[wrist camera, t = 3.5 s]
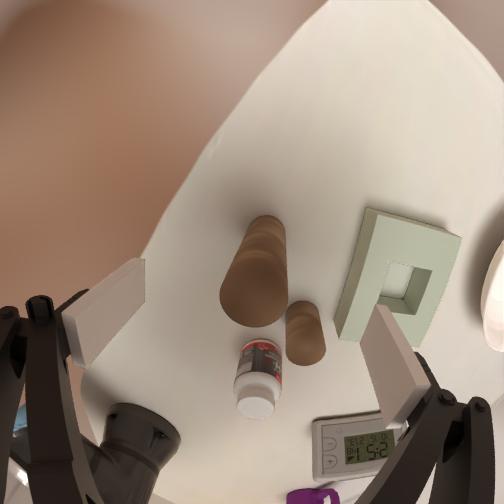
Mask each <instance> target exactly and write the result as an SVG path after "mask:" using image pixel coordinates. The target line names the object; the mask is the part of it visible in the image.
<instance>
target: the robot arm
mask: <svg viewBox="0 0 504 504" xmlns="http://www.w3.org/2000/svg"><path fill="white" fill-rule="evenodd" d="M144 302H145V259H141V258H136V257H133V258H131V259H130V260H129V261H127V262H126V263H125V264H123V265H122V266H120V267H119V268H118V269H116V270H115V271H114V272H112V273H111V274H110V275H108V276H107V277H106V278H105V279H103V280H102V281H100V282H99V283H98V284H97V285H95V286H94V287H93V288H91V289H85V290H82V291H80V292H78V293H76V294H75V295H74V296H72V298H70V299H69V300H67V302H65V303H63V304H62V305H61V306H60V307H58V308H57V309H56V310H54V306H53V301H52V299H51V298H50V297H48V296H45V295H38V296H34V297H32V298H30V299H29V300H27V302H26V304H25V305H26V310H27V314H28V318H29V319H28V318H21V317H20V315H19V311H18V309H17V308H16V307H13V306H5V307H2V308H1V309H0V504H148V502H149V499H150V496H151V494H152V491H153V488H154V486H155V483H156V480H157V477H158V474H159V472H160V470H161V469H162V468H163V467H164V465H165V464H166V463H167V462H168V461H169V460H170V459H171V458H172V457H173V456H174V455H175V453H176V452H177V450H178V448H179V445H180V436H179V434H178V432H177V431H176V430H175V428H174V427H173V426H172V425H171V424H170V423H168V422H167V421H166V420H165V419H163V418H162V417H160V416H158V415H157V414H155V413H153V412H151V411H149V410H147V409H145V408H142V407H139V406H136V405H132V404H125V403H120V404H116V405H114V406H112V407H111V409H110V411H109V412H108V414H107V416H106V421H105V427H104V434H103V440H102V443H101V444H100V446H99V447H98V446H96V445H95V444H94V443H92V442H91V441H90V440H89V439H87V438H86V437H85V436H84V435H82V434H81V433H80V431H79V427H78V423H77V418H76V414H75V409H74V403H73V398H72V393H71V386H70V379H69V372H68V364H67V361H66V358H67V357H68V356H69V355H70V354H71V357H72V361H73V364H76V365H78V366H80V367H82V368H84V369H87V368H88V367H89V366H90V364H91V363H92V362H93V361H94V360H95V358H96V357H97V356H98V355H99V354H100V352H101V351H102V350H103V349H104V348H105V347H106V345H107V344H108V343H109V342H110V341H111V339H112V338H113V337H114V336H115V335H116V334H117V333H118V331H119V330H120V329H121V328H122V327H123V326H124V324H125V323H126V322H127V321H128V320H129V319H130V318H131V317H132V315H133V314H134V313H135V312H136V311H137V310H138V309H139V308H140V306H141V305H142V304H143V303H144ZM360 346H361V349H362V352H363V355H364V358H365V361H366V364H367V367H368V371H369V374H370V377H371V380H372V383H373V386H374V390H375V393H376V396H377V400H378V403H379V406H380V410H381V413H382V417H383V421H384V424H385V428H386V429H395V428H401V426H402V425H403V424H404V423H405V421H406V420H407V421H408V424H409V427H408V428H407V429H406V430H405V431H404V433H403V434H402V435H401V436H400V437H399V439H398V440H397V441H399V442H398V443H397V445H396V447H395V448H394V450H393V451H392V453H391V455H390V456H389V458H388V459H387V461H386V462H385V464H384V465H383V466H382V468H381V469H380V471H379V472H378V474H377V475H376V476H375V478H374V479H373V480H372V482H371V483H370V484H369V486H368V487H367V488H366V490H365V491H364V492H363V494H362V495H361V496H360V497H359V499H358V500H357V501H356V502H355V503H354V504H416V502H417V500H418V498H419V496H420V494H421V493H422V491H423V489H424V487H425V485H426V483H427V481H428V479H429V477H430V475H431V472H432V470H433V468H434V466H435V464H436V469H435V474H434V480H433V485H432V490H431V495H430V499H429V504H494V494H495V451H494V450H495V449H494V435H493V425H492V416H491V409H490V406H489V404H488V403H487V401H486V400H485V399H483V398H481V397H472V399H471V400H470V401H469V402H468V404H464V403H459V402H457V400H456V397H455V396H454V395H453V394H452V393H451V392H450V391H448V390H445V389H441V388H440V387H439V385H438V383H437V381H436V379H435V377H434V375H433V373H432V372H431V370H430V368H429V366H428V364H427V363H426V361H425V359H424V358H423V357H422V356H421V355H420V354H419V353H418V352H414V351H413V350H412V348H411V346H410V344H409V342H408V341H407V339H406V337H405V335H404V334H403V332H402V330H401V329H400V327H399V325H398V323H397V322H396V320H395V318H394V317H393V315H392V313H391V312H390V310H389V308H388V307H387V306H386V305H380V304H375V306H374V308H373V311H372V314H371V316H370V319H369V321H368V324H367V326H366V329H365V331H364V334H363V336H362V338H361V341H360ZM24 384H25V392H26V394H25V396H26V403H25V404H23V405H22V406H21V407H20V408H18V407H19V403H20V398H21V395H22V391H23V387H24ZM436 461H437V462H436Z"/></svg>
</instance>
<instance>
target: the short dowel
mask: <svg viewBox="0 0 504 504" xmlns="http://www.w3.org/2000/svg"><path fill="white" fill-rule="evenodd" d="M285 320H286V356H287V358H288V359H289V360H290V361H291V362H292V363H294V364H296V365H300V366H309V365H312V364H315V363H317V362H318V361H320V360H321V359H322V358H323V356H324V355H325V352H326V346H325V341H324V336H323V331H322V326H321V322H320V317H319V312H318V309H317V307H316V306H315V305H314V304H312V303H311V302H308V301H298V302H295V303H293V304H292V305H291V306H289V308H288V309H287V311H286V315H285Z"/></svg>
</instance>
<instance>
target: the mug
mask: <svg viewBox="0 0 504 504" xmlns="http://www.w3.org/2000/svg"><path fill="white" fill-rule="evenodd" d="M328 495H330V499H331V504H340V500H339V496H338V492H336V491H335V490H334V489H332V488H329V489H323V490H321V491H319V490H314V489H302V490H297V491H293V492H291V493H290V494H289V495H287V502H286V504H324V498H325V497H326V496H328Z"/></svg>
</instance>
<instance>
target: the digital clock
mask: <svg viewBox="0 0 504 504" xmlns="http://www.w3.org/2000/svg"><path fill="white" fill-rule="evenodd" d="M406 429H407V424H406V421H405V423H404V424H403V425H402V426H401V428H395V429H386V428H385V424H384V421H383V417H382V413H381V412H378V413H371V414H364V415H357V416H349V417H340V418H334V419H330V420H319V421H315V422H314V423H313V425H312V472H313V480H314V481H316V482H327V481H336V480H339V481H345V480H352V479H359V478H365V477H370V476H376V475H377V474H378V472H379V471H380V469H381V468H382V466H383V465H384V464H385V462H386V461H387V459H388V458H389V456H390V455H391V453H392V451H393V450H394V448H395V447H396V445H397V443H398V442H399V441H397V440H398V439H399V437H400V436H401V435H402V434H403V433H404V431H405V430H406Z"/></svg>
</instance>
